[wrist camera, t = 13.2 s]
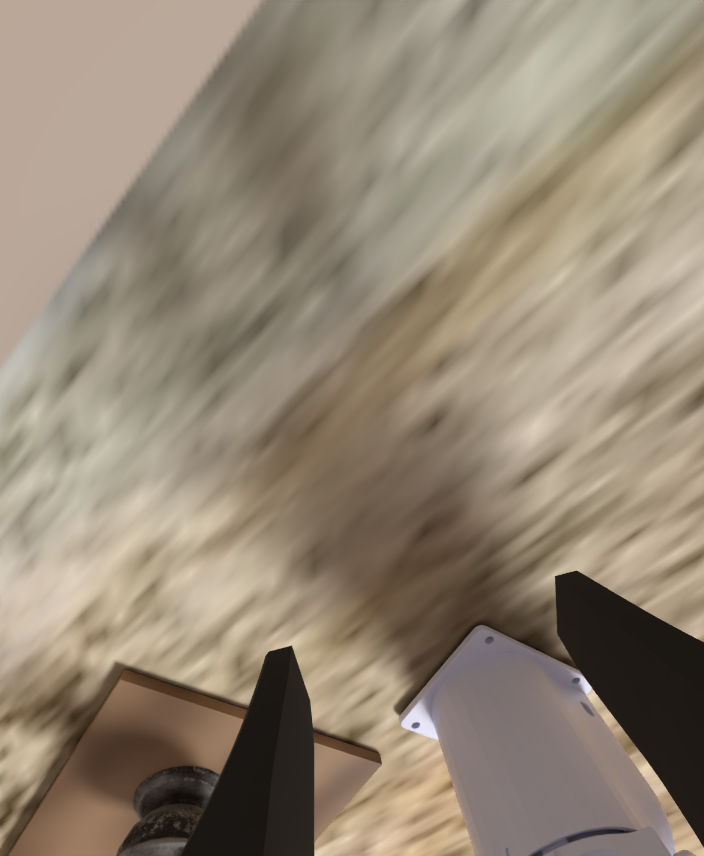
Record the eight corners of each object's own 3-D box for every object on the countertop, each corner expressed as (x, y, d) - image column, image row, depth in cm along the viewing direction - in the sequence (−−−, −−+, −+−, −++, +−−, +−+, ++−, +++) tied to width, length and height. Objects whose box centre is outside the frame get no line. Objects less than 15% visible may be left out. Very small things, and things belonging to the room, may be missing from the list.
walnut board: (379, 754, 27) (381, 764, 26) (249, 905, 30) (248, 918, 29) (124, 669, 22) (120, 679, 21) (4, 859, 25) (-3, 873, 25)
